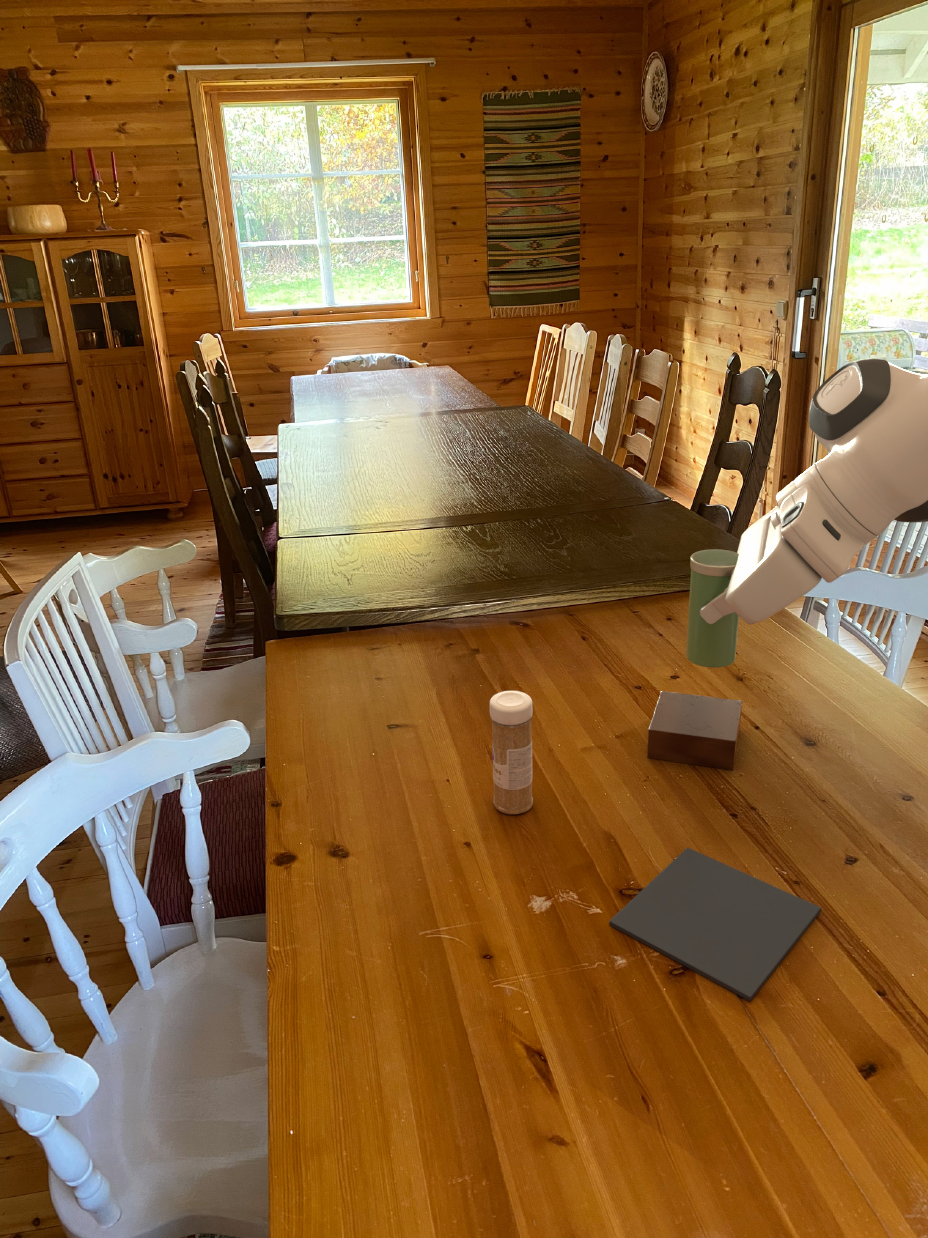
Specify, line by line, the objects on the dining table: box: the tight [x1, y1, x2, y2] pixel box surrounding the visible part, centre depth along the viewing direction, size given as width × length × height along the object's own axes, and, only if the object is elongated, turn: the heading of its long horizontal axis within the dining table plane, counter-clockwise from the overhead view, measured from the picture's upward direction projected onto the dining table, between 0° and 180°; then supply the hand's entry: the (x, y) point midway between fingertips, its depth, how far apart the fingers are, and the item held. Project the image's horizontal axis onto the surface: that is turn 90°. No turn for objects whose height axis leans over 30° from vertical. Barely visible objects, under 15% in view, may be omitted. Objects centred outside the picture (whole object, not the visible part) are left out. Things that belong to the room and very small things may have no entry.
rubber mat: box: [608, 847, 822, 1002], centre depth 85 cm, size 14×14×1 cm
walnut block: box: [646, 690, 743, 771], centre depth 112 cm, size 10×10×4 cm
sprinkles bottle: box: [489, 690, 534, 815], centre depth 100 cm, size 5×5×14 cm
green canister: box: [685, 549, 740, 669], centre depth 93 cm, size 5×5×11 cm
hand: (708, 604), depth 93 cm, fingers closed on green canister, 5 cm apart
